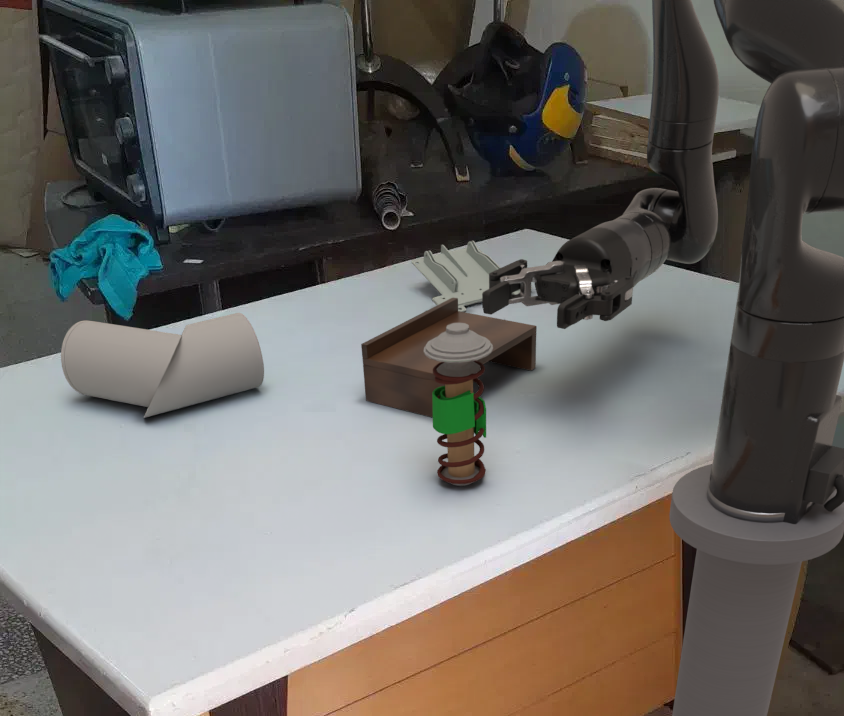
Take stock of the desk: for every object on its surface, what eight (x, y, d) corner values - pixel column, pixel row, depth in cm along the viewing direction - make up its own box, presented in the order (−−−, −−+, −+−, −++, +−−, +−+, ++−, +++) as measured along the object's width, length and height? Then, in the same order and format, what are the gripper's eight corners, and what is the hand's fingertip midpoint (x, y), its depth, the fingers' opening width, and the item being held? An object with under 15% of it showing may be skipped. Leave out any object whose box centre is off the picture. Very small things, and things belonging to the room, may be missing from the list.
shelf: (535, 368, 122) (537, 312, 118) (450, 422, 112) (448, 363, 107) (454, 350, 128) (452, 297, 124) (365, 400, 117) (360, 343, 113)
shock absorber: (506, 480, 101) (507, 326, 91) (457, 502, 98) (453, 344, 88) (465, 460, 104) (461, 309, 95) (417, 480, 102) (408, 327, 92)
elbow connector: (108, 436, 110) (274, 390, 117) (76, 333, 105) (252, 293, 112) (71, 419, 124) (222, 379, 131) (41, 328, 119) (200, 291, 126)
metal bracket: (396, 247, 143) (485, 228, 148) (393, 286, 148) (480, 266, 153) (448, 302, 136) (539, 280, 141) (443, 341, 141) (532, 318, 146)
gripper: (546, 218, 109) (461, 260, 100) (667, 235, 103) (589, 281, 93) (544, 291, 114) (463, 337, 105) (659, 311, 108) (584, 362, 98)
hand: (522, 310), depth 99 cm, fingers open, 8 cm apart
